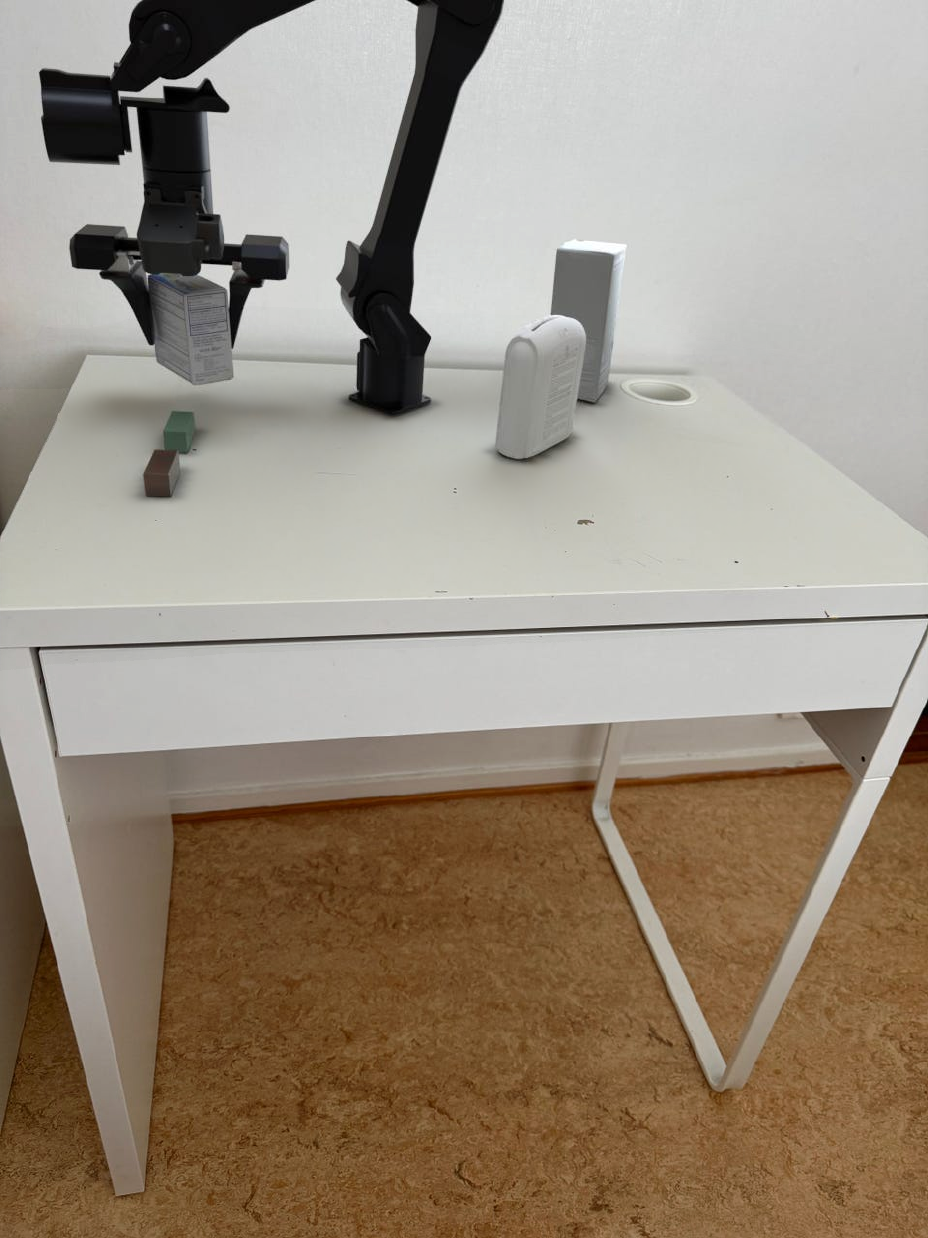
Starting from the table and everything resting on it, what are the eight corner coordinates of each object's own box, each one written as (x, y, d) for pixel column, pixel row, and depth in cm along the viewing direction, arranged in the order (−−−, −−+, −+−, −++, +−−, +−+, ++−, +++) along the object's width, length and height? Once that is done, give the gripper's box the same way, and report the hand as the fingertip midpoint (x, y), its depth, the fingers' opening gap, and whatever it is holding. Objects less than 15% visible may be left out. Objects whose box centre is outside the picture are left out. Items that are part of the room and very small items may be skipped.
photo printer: (541, 424, 95) (557, 303, 89) (577, 436, 93) (596, 313, 87) (487, 452, 88) (501, 322, 81) (525, 465, 86) (542, 333, 79)
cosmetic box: (596, 404, 102) (621, 255, 93) (534, 393, 103) (554, 245, 95) (610, 383, 109) (634, 242, 100) (552, 372, 110) (571, 233, 102)
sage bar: (187, 453, 82) (185, 431, 81) (164, 452, 82) (162, 430, 81) (195, 431, 86) (194, 411, 85) (173, 430, 86) (171, 410, 85)
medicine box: (235, 380, 88) (230, 288, 84) (192, 387, 86) (184, 292, 81) (196, 357, 93) (189, 268, 88) (154, 363, 90) (145, 272, 86)
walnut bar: (170, 497, 74) (168, 474, 73) (145, 496, 74) (142, 473, 73) (180, 471, 79) (178, 449, 77) (156, 470, 78) (154, 448, 77)
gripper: (37, 173, 72) (68, 368, 80) (279, 190, 74) (284, 378, 83) (73, 154, 81) (98, 331, 89) (287, 170, 83) (291, 341, 92)
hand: (191, 346), depth 88 cm, fingers closed on medicine box, 7 cm apart
